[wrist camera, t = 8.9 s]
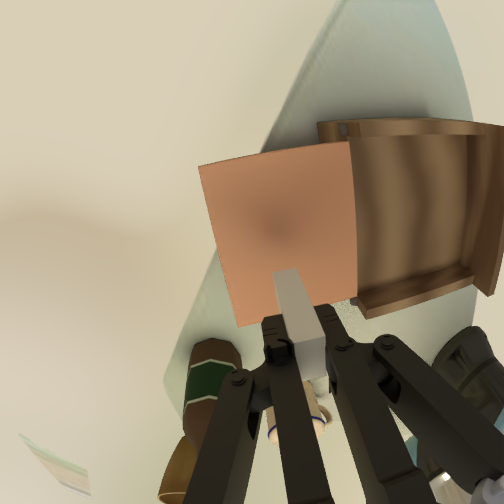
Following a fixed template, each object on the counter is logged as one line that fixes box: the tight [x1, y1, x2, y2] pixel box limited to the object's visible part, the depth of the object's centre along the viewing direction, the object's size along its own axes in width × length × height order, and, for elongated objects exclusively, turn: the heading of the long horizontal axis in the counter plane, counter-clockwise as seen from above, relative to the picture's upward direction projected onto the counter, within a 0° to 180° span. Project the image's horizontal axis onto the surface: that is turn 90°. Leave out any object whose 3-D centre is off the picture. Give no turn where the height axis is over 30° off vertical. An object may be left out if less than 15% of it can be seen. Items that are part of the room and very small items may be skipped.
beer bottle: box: [183, 338, 242, 460], centre depth 30 cm, size 8×8×24 cm
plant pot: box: [158, 436, 197, 504], centre depth 44 cm, size 15×15×16 cm
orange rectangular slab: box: [198, 141, 357, 327], centre depth 25 cm, size 2×15×12 cm
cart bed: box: [317, 118, 504, 320], centre depth 26 cm, size 17×18×14 cm
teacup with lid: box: [266, 381, 332, 446], centre depth 41 cm, size 12×9×12 cm
